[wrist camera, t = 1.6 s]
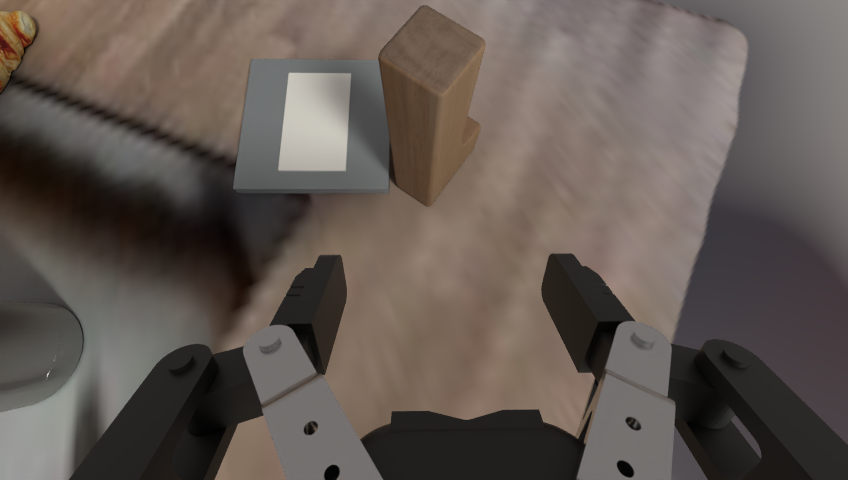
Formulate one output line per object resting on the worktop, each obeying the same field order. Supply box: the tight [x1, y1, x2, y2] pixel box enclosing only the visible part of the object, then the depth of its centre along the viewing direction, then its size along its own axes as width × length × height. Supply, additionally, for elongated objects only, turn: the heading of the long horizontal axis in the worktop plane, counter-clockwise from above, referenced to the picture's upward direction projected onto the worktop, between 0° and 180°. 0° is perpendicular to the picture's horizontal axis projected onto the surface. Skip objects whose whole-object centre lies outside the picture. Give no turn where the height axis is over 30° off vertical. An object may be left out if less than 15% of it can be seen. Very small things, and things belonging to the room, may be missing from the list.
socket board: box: [233, 59, 390, 193], centre depth 35 cm, size 16×16×1 cm
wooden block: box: [378, 5, 485, 207], centre depth 26 cm, size 9×4×18 cm, turn 145°
